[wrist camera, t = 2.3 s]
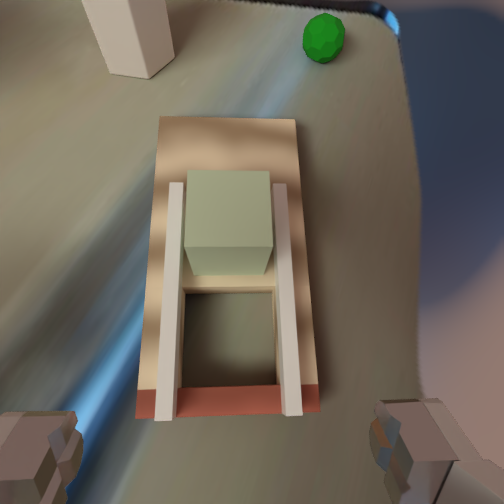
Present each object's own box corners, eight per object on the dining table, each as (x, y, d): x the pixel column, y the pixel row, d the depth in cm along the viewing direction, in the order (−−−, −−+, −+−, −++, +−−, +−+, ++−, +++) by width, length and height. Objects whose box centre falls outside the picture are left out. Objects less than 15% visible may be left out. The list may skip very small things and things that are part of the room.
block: (263, 275, 30) (273, 246, 23) (194, 275, 29) (184, 246, 23) (260, 213, 32) (269, 170, 25) (196, 213, 31) (187, 169, 25)
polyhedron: (319, 77, 41) (329, 41, 37) (290, 54, 43) (298, 16, 38) (346, 58, 43) (359, 21, 38) (318, 36, 44) (328, -3, 39)
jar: (181, 34, 42) (164, -89, 31) (168, 84, 40) (143, -32, 28) (109, 23, 42) (66, -104, 31) (91, 72, 39) (36, -49, 28)
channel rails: (297, 412, 26) (302, 415, 24) (159, 417, 25) (154, 421, 24) (282, 194, 33) (286, 183, 31) (173, 193, 32) (169, 182, 30)
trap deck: (312, 408, 29) (320, 411, 26) (143, 415, 28) (135, 418, 25) (290, 135, 38) (294, 119, 36) (164, 132, 37) (159, 116, 35)
